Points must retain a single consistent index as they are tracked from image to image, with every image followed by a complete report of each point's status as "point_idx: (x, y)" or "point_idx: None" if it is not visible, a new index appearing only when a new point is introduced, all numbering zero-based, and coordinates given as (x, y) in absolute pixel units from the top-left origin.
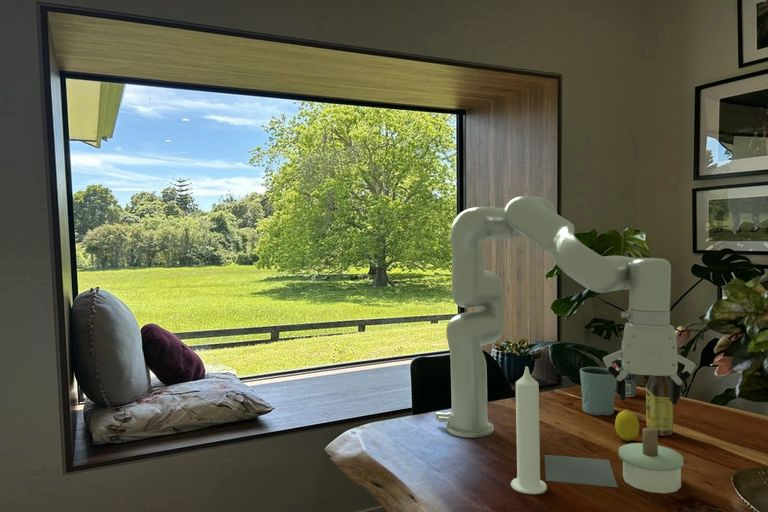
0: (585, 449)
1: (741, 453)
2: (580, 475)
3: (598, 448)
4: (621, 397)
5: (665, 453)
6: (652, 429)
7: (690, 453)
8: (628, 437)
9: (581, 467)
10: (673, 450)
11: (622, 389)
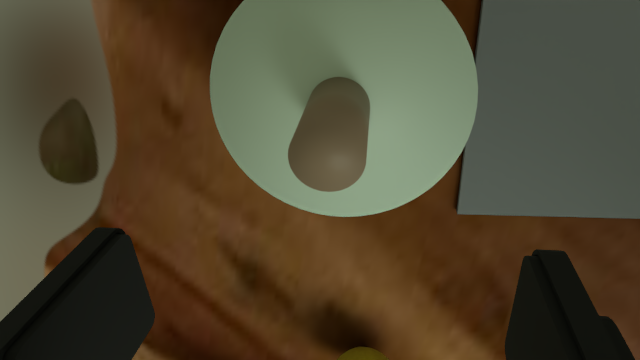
0: (511, 287)
1: None
2: (614, 57)
3: (464, 298)
4: (571, 264)
5: (275, 126)
6: (312, 166)
7: (205, 296)
8: (364, 348)
9: (582, 134)
10: (241, 165)
11: (596, 333)
